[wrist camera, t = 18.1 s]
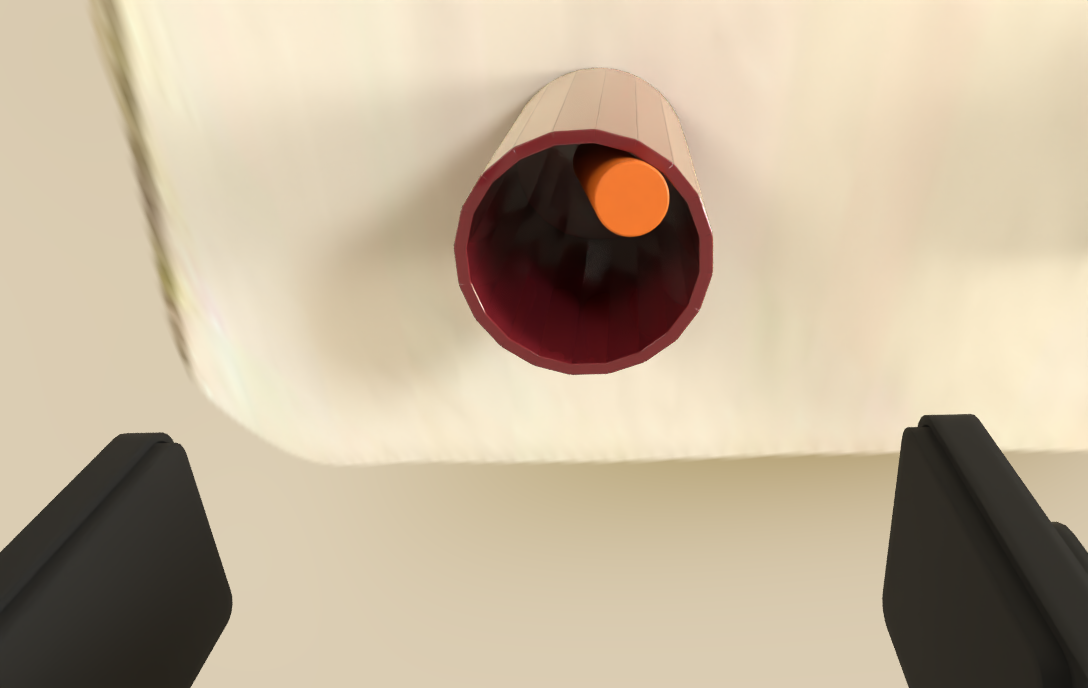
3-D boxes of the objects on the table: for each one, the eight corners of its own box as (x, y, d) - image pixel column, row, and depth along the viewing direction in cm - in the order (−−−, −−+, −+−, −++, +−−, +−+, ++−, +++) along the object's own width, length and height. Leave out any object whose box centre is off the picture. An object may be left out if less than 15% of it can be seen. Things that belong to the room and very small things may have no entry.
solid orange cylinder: (571, 139, 31) (592, 163, 20) (619, 136, 31) (668, 157, 20) (574, 188, 32) (595, 240, 20) (621, 185, 32) (670, 234, 20)
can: (501, 74, 31) (438, 139, 21) (685, 61, 30) (713, 121, 20) (519, 246, 34) (470, 378, 24) (686, 238, 33) (712, 371, 23)
